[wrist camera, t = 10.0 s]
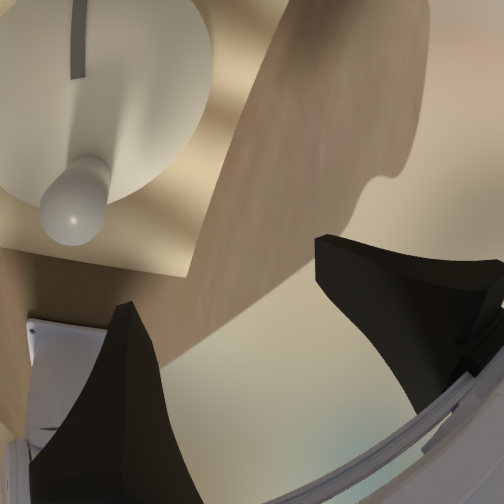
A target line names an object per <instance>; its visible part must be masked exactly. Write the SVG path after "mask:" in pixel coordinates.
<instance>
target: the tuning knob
mask: <svg viewBox="0 0 504 504" xmlns="http://www.w3.org/2000/svg"><path fill="white" fill-rule="evenodd" d="M212 70H213V58H212V47H211V43H210V38H209V34H208V31H207V28H206V26H205V23H204V21H203V18H202V17H201V15H200V13H199V11H198V10H197V8H196V6H195V5H194V4H193V2H192V1H191V0H18V1H17V2H16V3H15V4H14V5H13V6H12V7H10V8H9V10H8V11H7V12H6V13H5V14H4V15H3V16H2V17H1V19H0V186H1V187H2V188H3V189H4V190H5V191H7V192H8V193H9V194H11V195H13V196H14V197H16V198H18V199H19V200H21V201H24V202H26V203H29V204H31V205H33V206H37V207H40V208H39V214H40V220H41V223H42V226H43V228H44V230H45V231H46V233H47V234H48V235H49V236H50V237H51V238H52V239H54V240H55V241H57V242H58V243H61V244H63V245H68V246H77V245H81V244H84V243H87V242H88V241H90V240H91V239H93V238H94V237H95V236H96V235H97V234H98V232H99V231H100V229H101V227H102V225H103V222H104V218H105V212H106V206H107V204H110V203H112V202H114V201H117V200H119V199H122V198H124V197H126V196H128V195H130V194H131V193H133V192H135V191H137V190H139V189H140V188H142V187H143V186H145V185H146V184H147V183H149V182H150V181H152V180H153V179H154V178H155V177H157V176H158V175H159V174H160V173H161V172H162V171H163V170H165V169H166V168H167V167H168V166H169V165H170V163H171V162H172V161H173V160H174V159H175V158H176V157H177V156H178V155H179V153H180V152H181V151H182V149H183V148H184V147H185V145H186V144H187V143H188V141H189V140H190V138H191V136H192V134H193V133H194V131H195V129H196V128H197V126H198V124H199V121H200V119H201V117H202V115H203V112H204V110H205V106H206V103H207V100H208V97H209V93H210V87H211V82H212Z"/></svg>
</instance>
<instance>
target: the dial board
mask: <svg viewBox="0 0 504 504" xmlns="http://www.w3.org/2000/svg"><path fill="white" fill-rule="evenodd" d="M17 1H18V0H0V19H1V17H2V16H3V15H4V14H5V13H6V12H7V11H8V10H9V8H10V7H12V6H13V5H14V4H15V3H16V2H17ZM191 1H192V2H193V4H194V5H195V6H196V8H197V10H198V11H199V13H200V15H201V17H202V18H203V21H204V23H205V26H206V28H207V31H208V34H209V38H210V43H211V47H212V58H213V70H212V82H211V87H210V93H209V97H208V100H207V103H206V106H205V110H204V112H203V115H202V117H201V119H200V121H199V124H198V126H197V128H196V129H195V131H194V133H193V134H192V136H191V138H190V140H189V141H188V143H187V144H186V145H185V147H184V148H183V149H182V151H181V152H180V153H179V155H178V156H177V157H176V158H175V159H174V160H173V161H172V162H171V163H170V165H169V166H168V167H167V168H166V169H165V170H163V171H162V172H161V173H160V174H159V175H158V176H157V177H155V178H154V179H153V180H152V181H150V182H149V183H147V184H146V185H145V186H143V187H142V188H140V189H139V190H137V191H135V192H133V193H131V194H130V195H128V196H126V197H124V198H122V199H119V200H117V201H114V202H112V203H110V204H107V206H106V212H105V218H104V222H103V225H102V227H101V229H100V231H99V232H98V234H97V235H96V236H95V237H94V238H93V239H91V240H90V241H88V242H87V243H84V244H81V245H77V246H68V245H63V244H61V243H58V242H57V241H55V240H54V239H52V238H51V237H50V236H49V235H48V234H47V233H46V231H45V230H44V228H43V226H42V223H41V220H40V214H39V208H40V207H37V206H33V205H31V204H29V203H26V202H24V201H21V200H19V199H18V198H16V197H14V196H13V195H11V194H9V193H8V192H7V191H5V190H4V189H3V188H2V187H1V186H0V247H4V248H9V249H14V250H19V251H24V252H29V253H35V254H40V255H46V256H51V257H57V258H63V259H68V260H74V261H80V262H86V263H92V264H98V265H104V266H111V267H117V268H123V269H130V270H137V271H143V272H150V273H157V274H164V275H171V276H178V277H185V278H186V276H187V273H188V269H189V266H190V263H191V259H192V256H193V253H194V250H195V246H196V243H197V240H198V237H199V234H200V231H201V227H202V224H203V221H204V218H205V215H206V212H207V209H208V206H209V203H210V200H211V197H212V194H213V191H214V188H215V185H216V182H217V179H218V177H219V174H220V171H221V168H222V165H223V162H224V160H225V157H226V154H227V151H228V148H229V146H230V143H231V140H232V137H233V135H234V132H235V129H236V127H237V124H238V121H239V119H240V116H241V114H242V111H243V108H244V106H245V103H246V101H247V98H248V96H249V93H250V90H251V88H252V85H253V83H254V81H255V78H256V76H257V73H258V71H259V68H260V66H261V63H262V61H263V59H264V56H265V54H266V52H267V49H268V47H269V45H270V42H271V40H272V38H273V35H274V33H275V31H276V28H277V26H278V24H279V22H280V20H281V17H282V15H283V13H284V11H285V9H286V6H287V4H288V2H289V0H191Z"/></svg>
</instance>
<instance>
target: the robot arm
mask: <svg viewBox="0 0 504 504" xmlns="http://www.w3.org/2000/svg"><path fill="white" fill-rule="evenodd" d="M314 240H315V280H316V282H317V283H318V285H319V286H320V287H321V289H322V290H323V292H324V293H325V294H326V295H327V297H328V298H329V299H330V300H331V301H332V302H333V303H334V304H335V305H336V306H337V307H338V308H339V309H340V310H341V312H343V313H344V314H345V315H346V316H347V317H348V318H349V319H350V320H351V322H352V323H354V324H355V325H356V326H357V327H358V328H359V330H360V331H362V333H363V334H364V335H365V336H366V337H367V338H368V339H369V340H370V342H371V343H372V344H373V346H374V347H375V348H376V350H377V351H378V352H379V353H380V355H381V356H382V358H383V359H384V360H385V362H386V363H387V365H388V366H389V367H390V369H391V370H392V372H393V374H394V375H395V377H396V378H397V380H398V381H399V383H400V385H401V386H402V388H403V389H404V391H405V393H406V395H407V397H408V399H409V400H410V402H411V404H412V406H413V408H414V410H415V412H416V414H417V416H415V417H414V418H413V419H412V420H410V421H409V422H408V423H406V424H405V425H404V426H402V427H401V428H400V429H398V430H397V431H395V432H394V433H393V434H391V435H390V436H388V437H387V438H386V439H384V440H383V441H381V442H380V443H379V444H377V445H375V446H374V447H372V448H371V449H369V450H368V451H366V452H365V453H363V454H361V455H360V456H358V457H356V458H355V459H353V460H351V461H350V462H348V463H346V464H345V465H343V466H341V467H339V468H337V469H336V470H334V471H332V472H330V473H328V474H326V475H325V476H323V477H321V478H319V479H317V480H315V481H313V482H311V483H309V484H307V485H305V486H303V487H300V488H298V489H296V490H294V491H292V492H289V493H287V494H285V495H283V496H280V497H278V498H275V499H273V500H271V501H268V502H266V503H263V504H321V503H323V502H325V501H327V500H329V499H331V498H332V497H334V496H336V495H338V494H340V493H341V492H343V491H345V490H347V489H349V488H350V487H352V486H354V485H355V484H357V483H359V482H360V481H362V480H364V479H365V478H367V477H368V476H370V475H371V474H373V473H375V472H376V471H377V470H379V469H381V468H382V467H383V466H385V465H386V464H388V463H389V462H391V461H392V460H393V459H395V458H396V457H398V456H399V455H400V454H402V453H403V452H404V451H406V450H407V449H408V448H409V447H411V446H412V445H413V444H415V443H416V442H417V441H418V440H420V439H421V438H422V437H423V436H425V435H426V434H427V433H428V432H429V431H431V430H432V429H433V428H434V427H435V426H436V425H437V424H439V423H440V422H441V421H442V420H443V419H444V418H445V417H446V416H447V415H449V414H450V412H452V414H451V416H450V417H449V418H448V419H447V420H446V421H445V422H444V423H443V424H442V425H441V426H440V428H439V429H438V431H437V432H436V433H435V434H434V435H433V437H432V438H431V439H430V440H429V441H428V442H427V443H426V444H425V445H424V446H423V447H422V449H421V451H422V452H423V453H424V455H423V456H422V457H421V458H420V459H418V460H417V461H416V462H415V463H413V464H412V465H411V466H410V467H408V468H407V469H406V470H404V471H403V472H402V473H400V474H399V475H398V476H396V477H395V478H394V479H392V480H391V481H389V482H388V483H386V484H385V485H384V486H382V487H381V488H379V489H378V490H376V491H375V492H373V493H372V494H370V495H369V496H367V497H366V498H364V499H363V500H361V501H359V502H358V503H356V504H504V308H502V307H501V305H502V302H503V300H504V263H503V262H502V261H499V260H497V259H495V260H482V261H449V260H438V259H428V258H422V257H417V256H411V255H406V254H401V253H396V252H393V251H389V250H385V249H381V248H377V247H374V246H370V245H367V244H363V243H360V242H356V241H353V240H349V239H346V238H342V237H338V236H334V235H329V234H326V235H323V236H321V237H318V238H315V239H314ZM26 328H27V337H28V345H29V352H30V359H31V365H32V371H31V377H30V384H29V392H28V400H27V410H26V422H25V439H24V440H23V439H21V438H18V437H16V438H15V439H14V440H13V441H10V442H9V443H7V445H6V448H5V452H4V459H3V467H2V504H204V503H203V501H202V499H201V497H200V495H199V493H198V491H197V489H196V487H195V485H194V483H193V481H192V478H191V476H190V474H189V472H188V470H187V467H186V465H185V462H184V460H183V457H182V455H181V452H180V450H179V447H178V445H177V442H176V439H175V437H174V433H173V431H172V428H171V425H170V421H169V417H168V413H167V408H166V403H165V399H164V393H163V388H162V383H161V377H160V371H159V366H158V362H157V358H156V355H155V351H154V348H153V344H152V341H151V339H150V337H149V335H148V333H147V331H146V329H145V327H144V325H143V323H142V321H141V319H140V317H139V314H138V312H137V310H136V308H135V306H134V304H133V302H132V301H130V302H127V303H124V304H121V305H118V306H116V309H115V311H114V314H113V317H112V319H111V322H110V325H109V328H108V330H106V329H98V328H90V327H83V326H76V325H69V324H63V323H56V322H50V321H44V320H39V319H33V318H30V319H28V320H27V323H26ZM31 329H33V330H35V331H32V330H31Z"/></svg>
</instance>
